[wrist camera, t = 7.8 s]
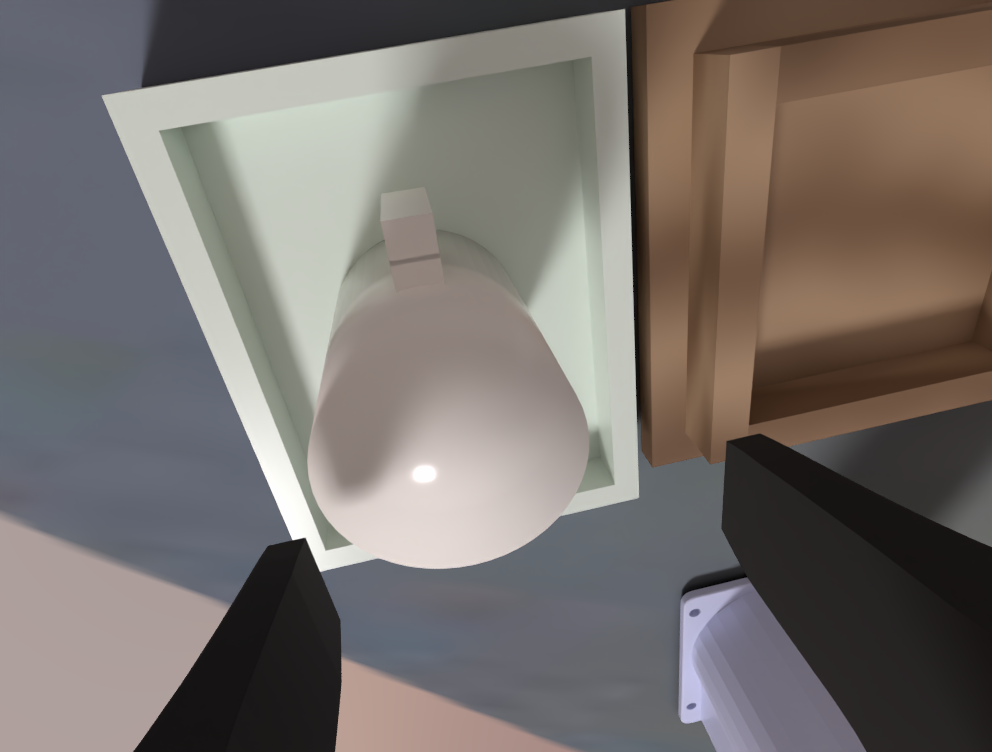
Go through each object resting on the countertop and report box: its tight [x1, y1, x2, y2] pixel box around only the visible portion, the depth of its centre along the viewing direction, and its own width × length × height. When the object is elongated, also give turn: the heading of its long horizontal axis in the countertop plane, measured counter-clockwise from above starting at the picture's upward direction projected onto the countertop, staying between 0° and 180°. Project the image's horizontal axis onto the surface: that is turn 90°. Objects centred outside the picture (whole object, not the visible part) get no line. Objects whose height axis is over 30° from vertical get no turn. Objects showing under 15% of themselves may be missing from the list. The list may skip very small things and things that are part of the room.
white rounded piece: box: [307, 187, 589, 569], centre depth 14 cm, size 7×5×7 cm
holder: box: [631, 0, 992, 467], centre depth 18 cm, size 14×14×3 cm
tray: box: [102, 9, 639, 571], centre depth 17 cm, size 14×11×2 cm
